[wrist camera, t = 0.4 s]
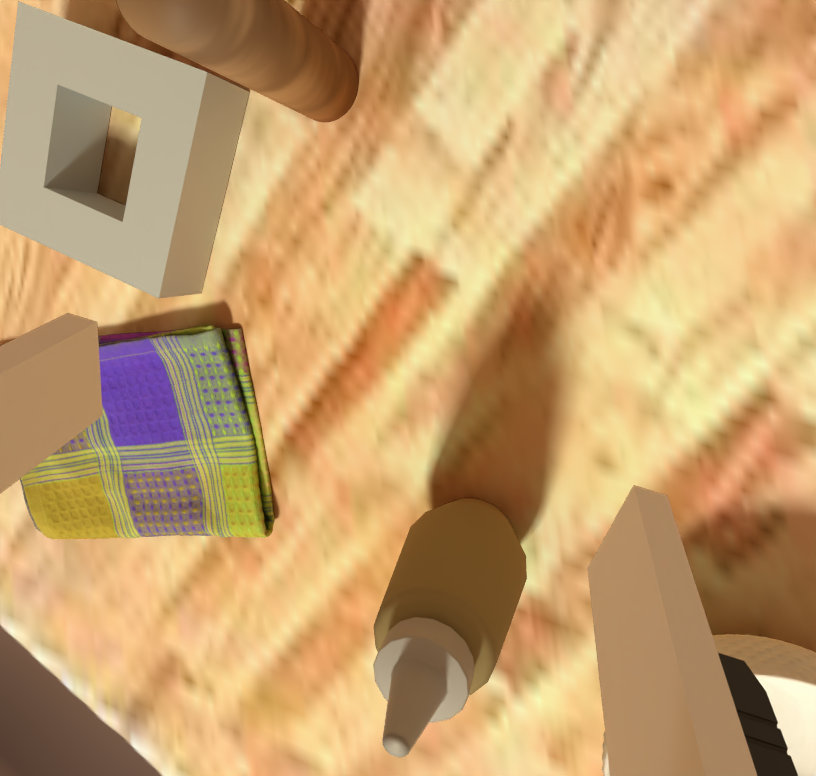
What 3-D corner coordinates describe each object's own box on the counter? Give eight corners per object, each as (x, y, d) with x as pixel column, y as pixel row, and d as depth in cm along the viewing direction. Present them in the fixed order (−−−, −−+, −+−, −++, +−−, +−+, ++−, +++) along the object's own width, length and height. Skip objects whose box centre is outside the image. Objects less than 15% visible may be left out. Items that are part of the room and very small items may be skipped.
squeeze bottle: (452, 459, 39) (357, 620, 22) (555, 525, 38) (536, 746, 21) (398, 544, 42) (276, 744, 25) (492, 608, 41) (432, 860, 24)
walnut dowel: (305, 35, 35) (123, -106, 21) (367, 57, 34) (222, -74, 20) (285, 109, 37) (103, 23, 23) (345, 131, 36) (195, 57, 22)
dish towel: (285, 536, 45) (267, 553, 42) (52, 532, 52) (25, 547, 50) (244, 316, 42) (222, 321, 39) (1, 346, 49) (-32, 351, 46)
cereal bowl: (556, 724, 41) (552, 813, 35) (678, 548, 36) (700, 615, 29) (785, 857, 39) (827, 982, 32) (954, 689, 33) (1047, 798, 27)
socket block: (78, 27, 39) (18, 1, 35) (249, 92, 37) (207, 72, 33) (50, 224, 44) (-6, 221, 40) (201, 293, 41) (158, 298, 37)
